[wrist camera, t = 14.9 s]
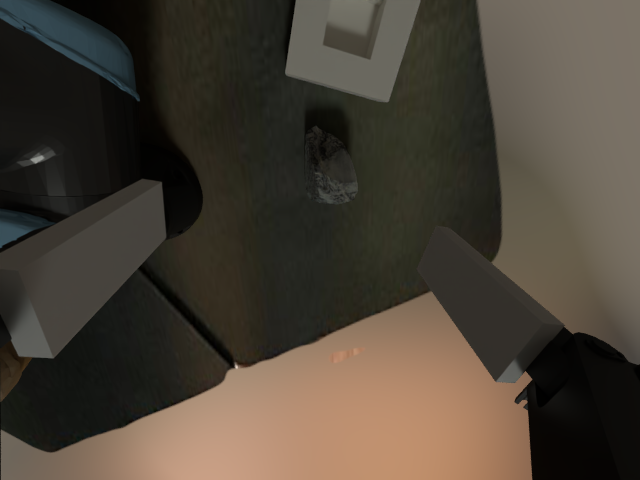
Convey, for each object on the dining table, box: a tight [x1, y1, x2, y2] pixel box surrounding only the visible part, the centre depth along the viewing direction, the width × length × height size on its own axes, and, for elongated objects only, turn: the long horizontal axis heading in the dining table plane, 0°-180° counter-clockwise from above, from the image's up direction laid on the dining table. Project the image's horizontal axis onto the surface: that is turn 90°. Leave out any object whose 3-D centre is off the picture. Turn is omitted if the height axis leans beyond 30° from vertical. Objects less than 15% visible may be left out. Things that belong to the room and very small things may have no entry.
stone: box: [305, 126, 358, 204], centre depth 40 cm, size 10×10×10 cm
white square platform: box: [285, 0, 421, 102], centre depth 32 cm, size 14×14×4 cm
